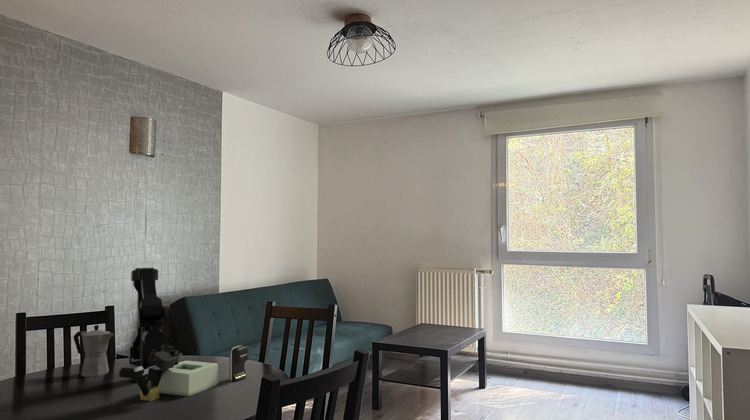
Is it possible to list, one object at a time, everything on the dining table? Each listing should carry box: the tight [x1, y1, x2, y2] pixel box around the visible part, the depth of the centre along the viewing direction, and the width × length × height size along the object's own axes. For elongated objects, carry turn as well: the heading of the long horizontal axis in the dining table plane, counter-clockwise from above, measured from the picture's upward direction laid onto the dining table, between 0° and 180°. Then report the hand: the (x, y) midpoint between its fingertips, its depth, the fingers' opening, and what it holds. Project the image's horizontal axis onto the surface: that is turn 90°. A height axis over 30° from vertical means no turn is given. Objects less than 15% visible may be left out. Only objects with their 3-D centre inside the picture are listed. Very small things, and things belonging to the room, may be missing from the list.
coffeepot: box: [73, 324, 114, 378], centre depth 187 cm, size 15×9×18 cm, turn 85°
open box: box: [158, 360, 219, 397], centre depth 167 cm, size 14×14×7 cm
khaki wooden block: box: [139, 384, 160, 402], centre depth 156 cm, size 4×3×4 cm
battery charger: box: [229, 345, 249, 382], centre depth 178 cm, size 7×4×11 cm, turn 159°
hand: (149, 394), depth 156 cm, fingers closed on khaki wooden block, 3 cm apart
